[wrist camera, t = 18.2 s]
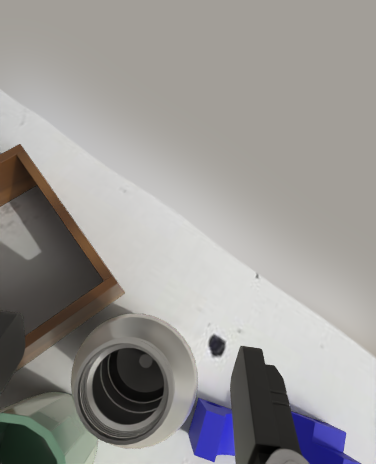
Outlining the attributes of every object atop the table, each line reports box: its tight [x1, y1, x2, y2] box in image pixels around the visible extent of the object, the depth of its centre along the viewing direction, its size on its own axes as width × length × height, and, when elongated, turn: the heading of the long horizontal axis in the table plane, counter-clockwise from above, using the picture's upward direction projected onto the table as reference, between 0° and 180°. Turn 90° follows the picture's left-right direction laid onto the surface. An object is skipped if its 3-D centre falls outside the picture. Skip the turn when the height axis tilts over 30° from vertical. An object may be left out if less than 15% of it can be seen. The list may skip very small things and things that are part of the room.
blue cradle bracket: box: [188, 398, 361, 464], centre depth 28 cm, size 12×4×6 cm, turn 72°
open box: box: [0, 144, 125, 373], centre depth 30 cm, size 16×15×6 cm
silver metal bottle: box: [71, 313, 198, 449], centre depth 22 cm, size 6×7×20 cm
